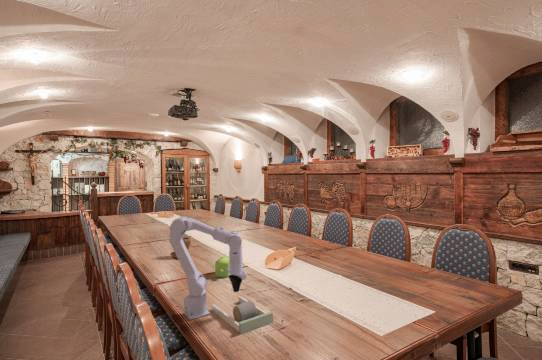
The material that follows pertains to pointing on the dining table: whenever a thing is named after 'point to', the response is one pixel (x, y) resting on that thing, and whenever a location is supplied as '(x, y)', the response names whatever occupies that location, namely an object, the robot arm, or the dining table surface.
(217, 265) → the green rounded oblong piece
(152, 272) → the dining table surface
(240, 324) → the grey u-shaped frame
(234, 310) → the ceramic mug
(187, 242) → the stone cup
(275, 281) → the dining table surface
